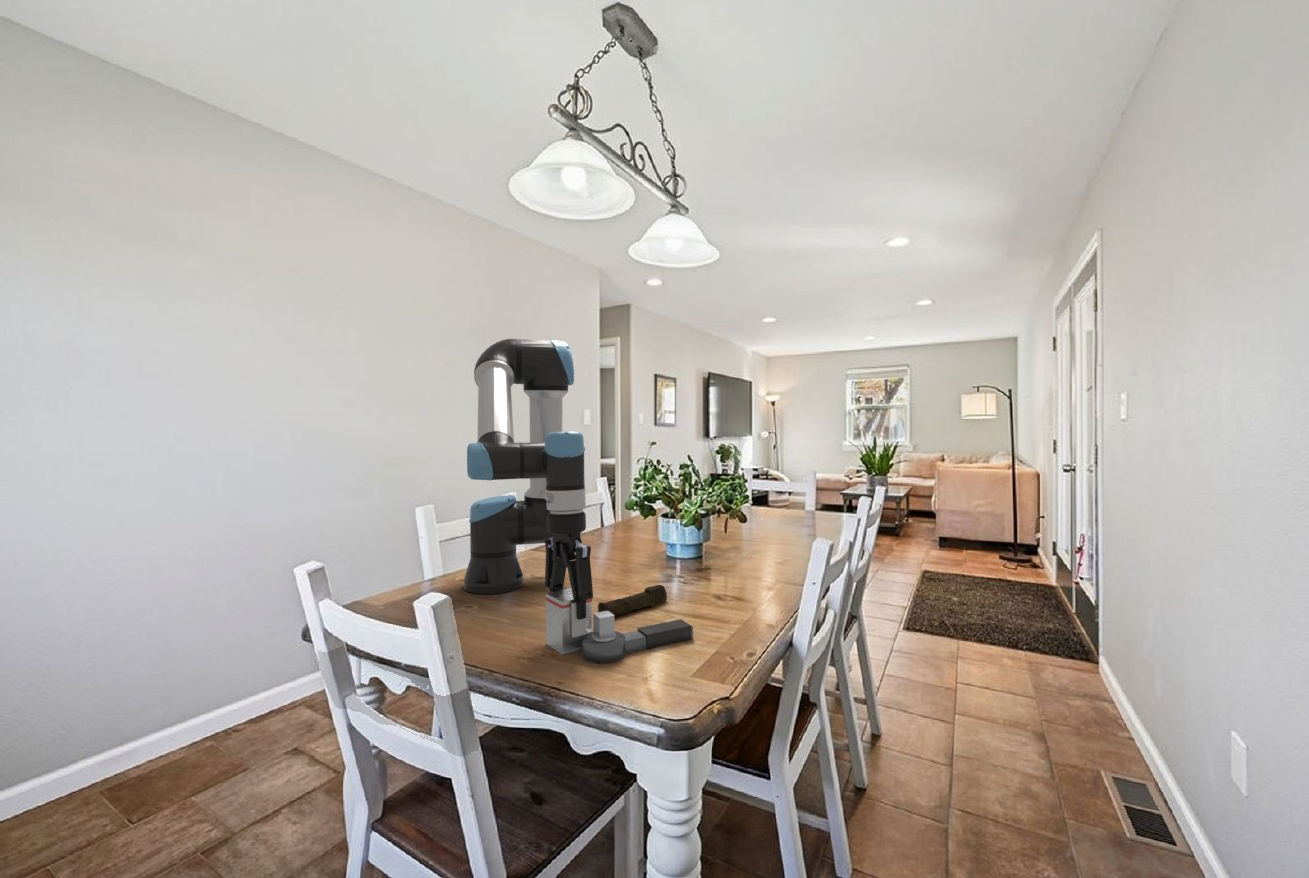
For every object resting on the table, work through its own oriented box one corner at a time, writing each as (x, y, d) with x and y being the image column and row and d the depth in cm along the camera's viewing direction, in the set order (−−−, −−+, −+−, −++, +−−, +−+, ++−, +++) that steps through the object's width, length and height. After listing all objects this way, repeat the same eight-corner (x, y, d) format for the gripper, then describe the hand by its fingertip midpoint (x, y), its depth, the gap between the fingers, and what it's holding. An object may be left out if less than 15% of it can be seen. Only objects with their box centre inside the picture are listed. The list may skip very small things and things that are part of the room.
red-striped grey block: (545, 644, 108) (545, 593, 108) (574, 635, 112) (574, 587, 112) (562, 655, 103) (562, 601, 103) (592, 646, 107) (591, 594, 107)
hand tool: (606, 623, 120) (606, 602, 120) (596, 618, 123) (596, 597, 123) (673, 605, 132) (673, 586, 131) (663, 601, 135) (663, 582, 135)
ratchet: (592, 666, 98) (591, 625, 98) (576, 650, 105) (575, 611, 105) (698, 642, 109) (699, 604, 109) (677, 628, 116) (677, 593, 116)
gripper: (525, 509, 113) (528, 622, 113) (575, 518, 97) (578, 649, 97) (558, 505, 117) (560, 614, 117) (611, 513, 102) (614, 638, 102)
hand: (568, 629), depth 107 cm, fingers open, 7 cm apart
